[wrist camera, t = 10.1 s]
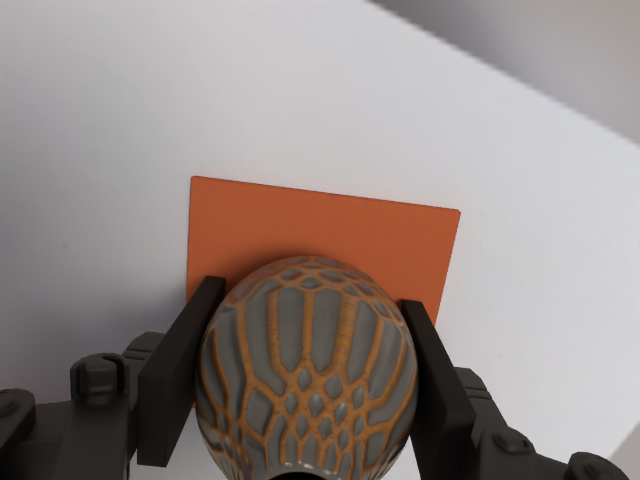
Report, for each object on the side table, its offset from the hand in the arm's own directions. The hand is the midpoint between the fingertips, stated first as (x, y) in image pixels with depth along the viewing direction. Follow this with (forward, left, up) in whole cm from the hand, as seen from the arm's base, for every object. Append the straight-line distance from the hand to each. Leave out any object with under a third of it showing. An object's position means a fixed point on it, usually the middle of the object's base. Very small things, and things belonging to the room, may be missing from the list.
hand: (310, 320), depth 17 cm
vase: (0, 0, 0) cm, 0 cm away
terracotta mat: (0, 0, -1) cm, 1 cm away
